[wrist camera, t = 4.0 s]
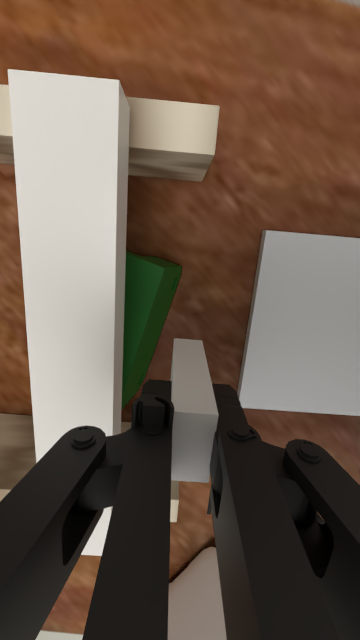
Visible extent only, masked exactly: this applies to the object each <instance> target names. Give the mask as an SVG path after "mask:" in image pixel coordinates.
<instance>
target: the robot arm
mask: <svg viewBox="0 0 360 640" xmlns="http://www.w3.org/2000/svg"><path fill="white" fill-rule="evenodd" d="M210 473H211V481H212V484H211V490H210V497H209V504H208V511H207V514H211V510H212V518H213V527H214V535H215V544H216V552H217V561H218V569H219V578H220V586H221V595H222V603H223V612H224V620H225V629H226V637H227V640H360V485H359V484H358V483H357V482H356V481H355V480H354V479H353V478H352V477H351V476H350V475H349V474H348V473H347V472H346V471H345V470H344V469H343V468H342V467H341V466H340V465H339V464H338V463H337V462H336V461H335V460H334V459H333V457H332V456H331V455H330V454H329V453H328V452H327V451H325V450H324V449H323V448H322V447H320V446H319V445H317V444H315V443H313V442H310V441H307V440H301V439H295V440H292V441H289V442H288V444H287V445H286V449H284V448H280V447H277V446H274V445H271V444H268V443H265V442H263V441H262V440H261V438H260V435H259V434H258V432H257V431H256V430H255V429H254V428H252V427H251V426H249V425H248V423H247V420H246V417H245V414H244V412H243V409H242V406H241V403H240V400H239V398H238V395H237V392H236V391H235V390H234V389H233V388H232V387H231V386H230V385H225V384H212V383H211V378H210V374H209V369H208V365H207V360H206V355H205V351H204V346H203V342H202V340H191V339H178V338H174V345H173V356H172V367H171V378H170V381H161V380H148V381H147V382H146V383H145V384H144V385H143V388H142V392H141V397H139V398H138V399H136V400H135V401H134V403H133V404H132V422H131V428H130V429H129V430H127V431H126V432H123V433H121V434H117V435H112V436H106V435H105V433H104V432H103V431H102V429H100V428H97V427H95V426H87V425H86V426H79V427H76V428H73V429H71V430H69V431H68V432H66V433H65V434H64V435H63V436H62V437H61V438H60V439H59V440H58V441H57V442H56V443H55V444H54V445H53V446H52V447H51V448H50V450H49V451H48V452H47V453H46V454H45V455H44V456H43V457H42V458H41V459H40V460H39V461H38V462H37V463H36V464H35V465H34V466H33V467H32V469H31V470H30V471H29V472H28V473H27V474H26V475H25V476H24V477H23V478H22V479H21V480H20V481H19V482H18V483H17V484H16V485H15V487H14V488H13V489H12V490H11V491H10V492H9V493H8V494H7V495H6V496H5V497H4V498H3V499H2V500H1V501H0V640H35V639H36V637H37V635H38V633H39V632H40V630H41V628H42V626H43V624H44V622H45V621H46V619H47V617H48V615H49V613H50V611H51V609H52V607H53V606H54V604H55V602H56V600H57V598H58V596H59V594H60V593H61V591H62V589H63V587H64V585H65V583H66V581H67V579H68V578H69V576H70V574H71V572H72V570H73V568H74V566H75V564H76V563H77V561H78V559H79V557H80V555H81V553H82V551H83V550H84V548H85V546H86V544H87V542H88V540H89V538H90V536H91V535H92V533H93V531H94V529H95V527H96V525H97V523H98V522H99V520H100V518H101V516H102V514H103V511H104V508H108V507H112V506H113V509H112V513H111V517H110V522H109V526H108V530H107V535H106V539H105V543H104V548H103V552H102V556H101V561H100V565H99V570H98V574H97V578H96V583H95V587H94V591H93V596H92V600H91V604H90V609H89V613H88V617H87V622H86V626H85V630H84V635H83V639H82V640H168V600H169V555H170V510H171V480H175V481H191V482H206V483H209V476H210ZM318 513H319V514H320V515H321V517H322V518H323V519H322V518H321V517H320V516H319V514H318ZM324 521H325V522H324Z"/></svg>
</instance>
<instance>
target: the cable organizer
mask: <svg viewBox="0 0 360 640" xmlns="http://www.w3.org/2000/svg"><path fill="white" fill-rule="evenodd" d="M168 640H227V637H226V629H225V620H224V612H223V603H222V595H221V586H220V578H219V569H218V561H217V552H216V548H215V547H209V548H207V549H203V550H202V551H201V552H200V553H199V554H198V555H197V556H196V558H195V559H194V560H193V561H192V562H191V563H190V564H189V565H188V567H187V568H186V569H185V570H184V571H183V572H182V573H181V574H180V575H179V576H178V577H177V578H176V579H175V580H174V581H173V582H171V583H169V600H168Z"/></svg>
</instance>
